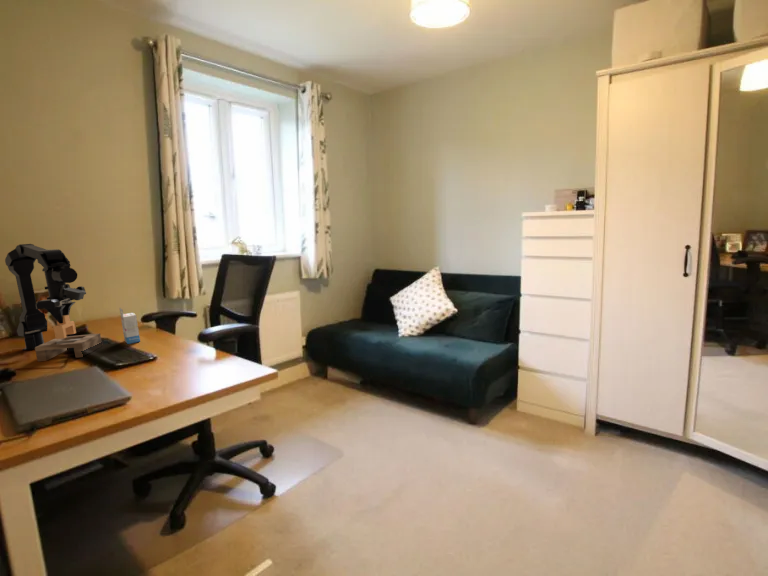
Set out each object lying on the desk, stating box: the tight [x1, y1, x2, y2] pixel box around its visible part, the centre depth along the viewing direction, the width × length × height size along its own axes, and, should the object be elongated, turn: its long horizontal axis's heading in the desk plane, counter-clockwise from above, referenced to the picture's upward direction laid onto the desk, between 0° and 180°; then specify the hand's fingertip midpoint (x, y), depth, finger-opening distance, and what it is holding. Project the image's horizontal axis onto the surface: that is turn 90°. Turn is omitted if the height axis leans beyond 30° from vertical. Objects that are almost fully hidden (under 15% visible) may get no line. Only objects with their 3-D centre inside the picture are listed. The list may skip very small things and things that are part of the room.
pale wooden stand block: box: [53, 314, 77, 339], centre depth 163 cm, size 8×3×8 cm, turn 9°
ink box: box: [119, 307, 141, 345], centre depth 177 cm, size 8×5×15 cm, turn 39°
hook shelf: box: [34, 333, 103, 362], centre depth 164 cm, size 14×16×6 cm
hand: (63, 322), depth 163 cm, fingers closed on pale wooden stand block, 3 cm apart
